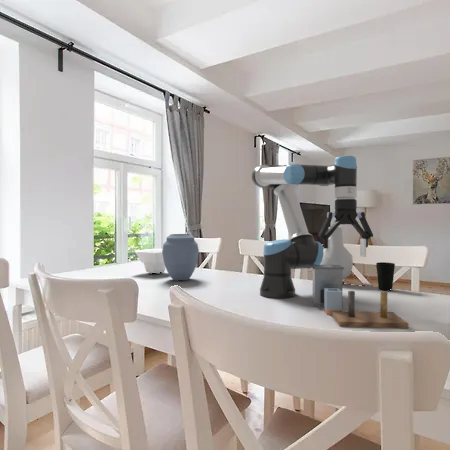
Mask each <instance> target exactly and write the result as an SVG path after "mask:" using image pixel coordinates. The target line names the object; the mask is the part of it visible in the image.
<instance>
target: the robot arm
mask: <svg viewBox="0 0 450 450" xmlns="http://www.w3.org/2000/svg"><path fill="white" fill-rule="evenodd" d="M357 169H358V167H357V158H356V156H354V155H340V156H337V157H335V159H334V164H331V165H319V164H318V165H316V164H300V163H299V164H298V163H292V164H291V163H290V164H283V165H281V164H280V165H279V164H259V165H257V166H255V168H254V169H253V170H252V172H251V180H252V183H254V185H255V186H257V187H259V188H260V189H272V191H273V194H274V196H277V197H278V201H279V204H280V207H281V211H282V213H283V218H284V222H285V225H286V229H287V232H288V236H289V239H286V238H285V239H276V240H275V239H274V240H270V241H267V242H265V243H264V246H263V278H262V281H261V285H260V287H259V294H260V296H262V297H265V298H271V299H272V298H273V299H287V298H288V299H289V298H292V297H295V296H296V288H295V284H294V282H293V278H292V270H304V269H313V268H312V267H311V265H320V264H321V262H322V259H323V250H324V249H325V257H328V258H331V240H329V239H328V238H329V237H330V236H331V235H332V233H333V232H334V231H335V230H336V228H337V227H340V225H351V226H353V228H354V229H355V231H356V232H357V233H358V235H360V237H361V238H360V239H359V242H360V243H359V245H360V247H359V248H360V249H359V254H360V255H359V256H360V257H362V258H366V257H367V248H368V247H369V240H370V238H372V237H374V234H373V231H372V230H371V227H370V225H369V223H368V221H367V218H366V213H365V211H359V212H357V205H358V204H357V199H356V198H357V195H358V194H357V193H358V192H357V183H358V182H357V178H358V176H357V172H358V171H357ZM299 185H301V186H302V185H306V186H307V185H309V186H310V185H311V186H312V185H313V186H320V187H328V186H332V185H333V186H334V198H335V200H334V212H332V211H329V212H326V216H325V220H324V222H323V223H322V226H321V227H320V231H319V233H318V235H317V237H318V238H320V239H322V240H323V241H322V242H323V243H321V242H320V241H317V240H316V241H315V238H314V235H313V234H311V233H309V229H308V227H307V224H306V221H305V217H304V214H303V211H302V208H301V205H300V201H299V199H298V195H297V191H296V190H297V188H298V187H299ZM333 218H335V220H334V222H333V223H332V224H331V222H332V219H333ZM357 218H358V219H359V221H360V224H361V225H360V224H359V221H358V220H357ZM330 224H331V226H330ZM329 227H330V228H329Z"/></svg>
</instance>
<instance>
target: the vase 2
mask: <svg viewBox="0 0 450 450" xmlns="http://www.w3.org/2000/svg"><path fill="white" fill-rule="evenodd" d="M330 227H331V226H329V227H328V229H329V228H330ZM328 239H329V240H331V258H328V257H325V248H323V259H322V262H321V264H320V265H341V266H342V267H344V270H343V272H342V281H343V280H344V279H346V278H347V277H349V276H350V275H351V273H352V270H353V266H354V260H353V255H352V253H351V252H350V251H349V250H348V249H347V247H345V245H344V239H343V227H341V226H338V227H337V228H336V230H335V231H334V232H333V233H332V235H331V236H330V237H329V238H328Z"/></svg>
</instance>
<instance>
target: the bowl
mask: <svg viewBox="0 0 450 450" xmlns="http://www.w3.org/2000/svg"><path fill="white" fill-rule="evenodd" d="M162 249H163V248H148V249H140V250H135V251H134V253H135V255H136V256H137V258H138V260H139V261H140V262H141V263H143V265H144V269H145V273H147V272H149V273H148V274H152V273H157V274H161V273H160V272H163V273H165V272H164V271H166V266H165V264H164V259H163V254H162Z"/></svg>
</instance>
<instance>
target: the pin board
mask: <svg viewBox="0 0 450 450" xmlns="http://www.w3.org/2000/svg"><path fill="white" fill-rule="evenodd" d="M355 295H356V294H355V291H354V290H348V291H347V303H348V304H347V306H348V307H347V310H342V311H332V315H331V316H332V317H333V319H334V321H335V322H336V323H337V325H338V326H339V327H347V328H349V327H351V328H352V327H353V328H387V329H391V328H392V329H409V322H407V320H405V319H403V318H402V317H401V316H399V315H398V314H396V313H395V312H393V311H388V291H381V290H380V297H379V298H380V300H379V301H380V310H379V311H364V310H363V311H361V310H358V311H356V308H355V307H356V296H355Z"/></svg>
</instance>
